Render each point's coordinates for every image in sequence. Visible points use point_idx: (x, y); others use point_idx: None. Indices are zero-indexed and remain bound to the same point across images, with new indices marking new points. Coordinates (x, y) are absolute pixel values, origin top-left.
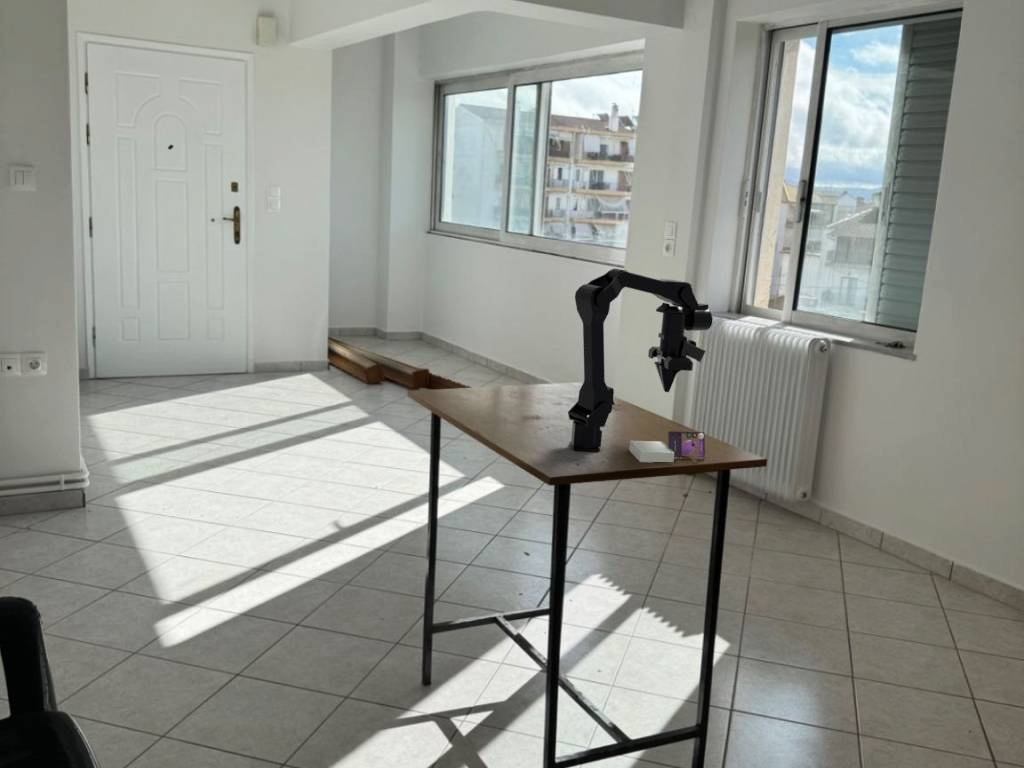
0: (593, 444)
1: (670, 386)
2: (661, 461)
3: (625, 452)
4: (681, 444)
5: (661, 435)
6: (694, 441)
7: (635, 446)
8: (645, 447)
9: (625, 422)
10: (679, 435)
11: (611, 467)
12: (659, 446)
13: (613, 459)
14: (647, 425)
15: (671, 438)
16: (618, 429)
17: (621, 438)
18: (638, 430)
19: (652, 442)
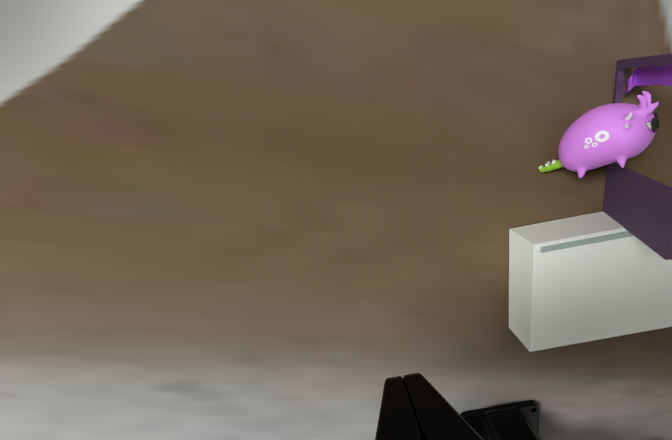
0: (535, 432)
1: (469, 428)
2: None
3: None
4: (647, 177)
5: (243, 203)
6: (651, 111)
7: (600, 337)
8: (623, 309)
9: (82, 326)
10: (669, 199)
11: None
12: (610, 260)
13: (610, 368)
14: (81, 247)
15: (651, 231)
16: (218, 350)
17: (350, 344)
18: (197, 286)
19: (549, 281)
